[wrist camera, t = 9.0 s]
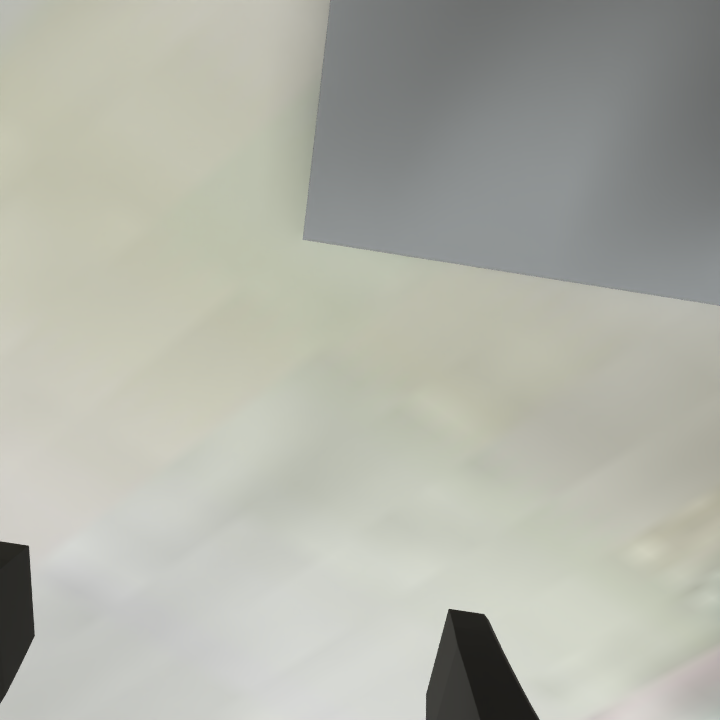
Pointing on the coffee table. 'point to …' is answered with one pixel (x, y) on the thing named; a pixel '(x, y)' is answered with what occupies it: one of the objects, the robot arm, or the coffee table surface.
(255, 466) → the coffee table surface
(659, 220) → the mat
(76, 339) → the coffee table surface
